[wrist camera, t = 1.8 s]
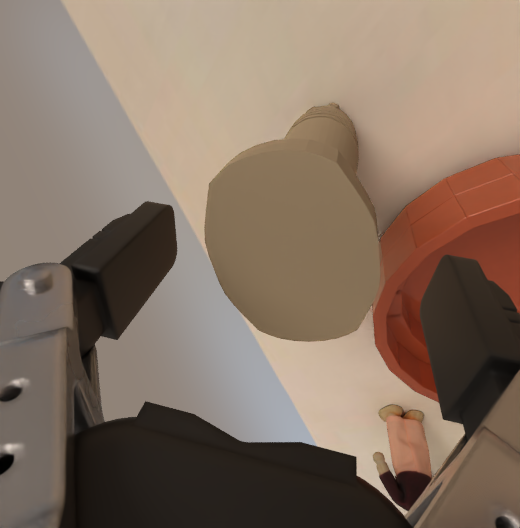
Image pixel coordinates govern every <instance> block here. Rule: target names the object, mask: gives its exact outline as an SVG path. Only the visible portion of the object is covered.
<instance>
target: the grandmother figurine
mask: <svg viewBox="0 0 520 528" xmlns="http://www.w3.org/2000/svg"><path fill="white" fill-rule="evenodd" d="M402 411H403V410H402V408H401V407H399V406H397V405H389V406H387V407H385V408H383V409H381V410H380V411H379V416H380V418H381V419H382V420H383V421H385V422H387V430H388V436H389V443H390V450H391V457H392V463H393V467H394V470H395V473H396V476H397V481H396V479H395V478H394V476H393V474H392V473H391V471H390V470H389V468H388V465H387V463H386V462H385V458H384V455H383V454H382V453H380V452H376V453H374V455H373V459H374V461H375V463H376V464H377V470H378V472H379V477H380V480H381V481H382V483H383V485H384V487H385V488H386V490H387V492H388V493H389V495H390V496H391V498H392V499H393V501H394V502H395V503H396V504H397V505H399V506H400V507H402V508H403V509H405V510H407V511H409V510H410V508H411V507H412V506H413V505H414V503H415V502H416V501H417V500H418V498H419V497H420V496H421V494H422V493H423V491H424V490H425V489H426V487H427V486H428V484H429V483H430V482H431V480H432V475H431V464H430V457H429V450H428V445H427V441H426V437H425V433H424V428H423V425H422V424H421V423H422V420H423V416H424V415H423V413H422V412H420V411H416V410H411V411H408V412H407V413H406V414H405V415H404V416H403V418H401V417H399V416H400V415H401V414H402Z"/></svg>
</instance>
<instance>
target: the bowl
mask: <svg viewBox="0 0 520 528" xmlns="http://www.w3.org/2000/svg"><path fill="white" fill-rule="evenodd" d="M444 255H453V256H458V257H464V258H470V259H475V260H477V261H478V263H479V264H480V266H481V268H482V270H483V272H484V274H485V276H486V278H487V280H490V281H494V282H495V283H496V284H497V285H498V286H499V287H500V288H502V289H503V290H504V291H505V292H506V293H507V294H508V295H509V296H510V298H511V300H512V301H513V303H514V305H515V307H516V308H517V312H518V313H519V314H520V154H519V155H512V156H505V157H498V158H494V159H492V160H489V161H487V162H484V163H482V164H479V165H477V166H474V167H472V168H469V169H467V170H464V171H462V172H459V173H457V174H454V175H452V176H449V177H447V178H445V179H443V180H442V181H440V182H439V183H437V184H436V185H435V186H433V187H432V188H430V189H429V190H428V191H426V192H425V193H424V194H422V195H421V196H419V197H418V198H417V199H415V200H414V201H412V202H411V203H410V204H408V205H407V206H406V207H405V208H404V209H403V210H402V211H401V213H400V214H399V215H398V217H397V218H396V219H395V220H394V222H393V223H392V224H391V225H390V227H389V228H388V229H387V231H386V232H385V233H384V234H383V236H382V237H381V239H380V241H379V259H380V285H379V289H378V292H377V294H376V297H375V300H374V301H373V303H372V308H373V323H374V336H375V345H376V347H377V349H378V351H379V352H380V354H381V356H382V358H383V359H384V361H385V363H386V365H387V367H388V368H389V370H390V371H391V372H392V373H394V374H395V375H396V376H397V377H398V378H400V379H401V380H402V381H403V382H404V383H406V384H407V385H408V386H409V387H410V388H411V389H413V390H414V391H415V392H417V393H419V394H422V395H424V396H426V397H428V398H430V399H432V400H435V401H437V402H439V399H438V395H437V390H436V386H435V381H434V377H433V373H432V368H431V364H430V359H429V355H428V351H427V346H426V342H425V337H424V333H423V329H422V324H421V320H420V304H421V300H422V297H423V295H424V293H425V291H426V289H427V287H428V284H429V282H430V280H431V278H432V276H433V274H434V272H435V270H436V268H437V266H438V264H439V262H440V260H441V258H442V257H443V256H444Z"/></svg>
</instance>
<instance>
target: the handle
mask: <svg viewBox="0 0 520 528" xmlns="http://www.w3.org/2000/svg"><path fill="white" fill-rule="evenodd" d="M357 166H358V142H357V136H356V132H355V129H354V126H353V123H352V121H351V120H350V119H349V117H348V116H347V115H346V114H345V113H344V112H343V111H341V110H340V109H339V106H338V105H337V104H334V103H330V104H329V105H327V106H321V107H317V108H316V107H312V108H311V109H309V110H308V111H307V112H306V113H305V114H303V115H302V116H301V117H300V118H299V119H298V120H297V121H296V122H295V123H294V124H293V126H292V127H291V129H290V130H289V132H288V133H287V135H286V137H285V139H282V140H273V141H270V142H266V143H263V144H259V145H256V146H253V147H251V148H249V149H247V150H245V151H243V152H241V153H240V154H238V155H237V156H236V157H235V158H233V159H232V160H231V161H230V162H229V163H228V164H227V165H226V166H225V167H224V168H223V169H222V170H221V171H220V172H219V173H218V174H217V176H216V177H215V178H214V179H213V180H212V181H211V182H210V184H209V190H208V198H207V207H206V217H205V243H206V247H207V250H208V254H209V257H210V260H211V262H212V265H213V268H214V270H215V273H216V275H217V277H218V280H219V283H220V285H221V287H222V289H223V291H224V293H225V294H226V295H227V297H228V298H229V299H230V301H231V302H232V303H233V304H234V306H235V307H236V308H237V309H238V310H239V311H240V312H241V313H242V314H243V315H244V316H245V317H246V318H247V319H248V320H249V321H250V322H251V323H252V324H253V325H254V326H255V327H256V328H257V329H258V330H259V331H261V332H264V333H266V334H268V335H271V336H274V337H277V338H281V339H287V340H293V341H308V342H309V341H325V340H330V339H336V338H339V337H342V336H345V335H348V334H350V333H352V332H354V331H356V330H357V329H358V328H359V326H360V324H361V323H362V321H363V319H364V318H365V316H366V314H367V313H368V311H369V309H370V307H371V305H372V303H373V301H374V300H375V297H376V294H377V292H378V289H379V285H380V259H379V243H378V231H377V220H376V213H375V208H374V205H373V204H372V202H371V200H370V198H369V196H368V195H367V193H366V191H365V189H364V187H363V186H362V184H361V182H360V181H359V179H358V177H357V176H356V172H357Z"/></svg>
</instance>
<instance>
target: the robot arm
mask: <svg viewBox="0 0 520 528" xmlns="http://www.w3.org/2000/svg"><path fill="white" fill-rule="evenodd" d="M176 255H177V241H176V229H175V218H174V211H173V208H172V206H170V205H165V204H159V203H154V202H148V201H147V202H145V203H143V204H142V205H141V206H140V207H138V208H137V209H136V210H135V211H134V212H133V213H131V214H127V215H125V216H122V217H120V218H117V219H115V220H113V221H112V222H110V223H109V224H108V225H107V226H105V227H104V228H103V229H102V231H99V232H98V233H97V234H95V235H94V236H93V239H89V240H88V241H87V242H86V243H84V244H83V245H82V246H81V247H79V248H78V249H77V250H76V251H74V252H73V253H72V254H71V255H70V256H69V257H67V258H66V259H65V260H63V261H62V262H61V263H60V264H58V263H40V264H35V265H31V266H28V267H25V268H23V269H21V270H18V271H17V272H15V273H13V274H12V275H11V276H9V277H8V278H7V279H6V280H5V281H4V282H0V528H520V314H519V313H518V312H517V308H516V307H515V305H514V303H513V301H512V300H511V298H510V296H509V295H508V294H507V293H506V292H505V291H504V290H503V289H502V288H500V287H499V286H498V285H497V284H496V283H495V282H494V281H490V280H487V278H486V276H485V274H484V272H483V270H482V268H481V266H480V264H479V263H478V261H477V260H475V259H470V258H464V257H458V256H453V255H444V256H443V257H442V258H441V260H440V262H439V264H438V266H437V268H436V270H435V272H434V274H433V276H432V278H431V280H430V282H429V284H428V287H427V289H426V291H425V293H424V295H423V297H422V300H421V304H420V320H421V324H422V329H423V333H424V337H425V342H426V346H427V351H428V355H429V359H430V364H431V368H432V373H433V377H434V381H435V386H436V390H437V395H438V399H439V403H440V408H441V412H442V417H443V419H444V420H448V421H452V422H456V423H460V424H463V426H464V430H465V434H464V436H463V437H462V438H461V439H460V440H459V442H458V443H457V445H456V446H455V447H454V449H453V450H452V452H451V453H450V455H449V456H448V457H447V459H446V460H445V462H444V463H443V464H442V466H441V467H440V469H439V470H438V472H437V473H436V474H435V476H434V477H433V479H432V480H431V482H430V483H429V484H428V486H427V487H426V489H425V490H424V491H423V493H422V494H421V496H420V497H419V498H418V500H417V501H416V502H415V503H414V505H413V506H412V507H411V508H410V510H409V511H408V512H407V514H406V515H405V516H404V515H403V514H402V513H401V512H400V511H399V510H398V509H397V508H396V507H395V505H394V504H393V503H392V502H391V501H390V500H389V499H388V498H386V497H385V496H384V495H383V494H382V493H381V492H380V491H379V490H377V489H376V488H375V487H373V486H372V485H371V484H369V483H368V482H366V481H365V480H363V479H362V478H360V477H358V476H356V457H355V456H351V455H347V454H343V453H340V452H336V451H332V450H328V449H324V448H321V447H317V446H313V445H309V444H305V443H302V442H284V443H283V442H274V443H273V442H272V443H271V442H267V443H266V442H265V443H262V442H261V443H260V442H259V443H258V442H255V443H252V442H251V443H248V442H242V441H239V440H237V439H235V438H234V437H232V436H230V435H229V434H227V433H225V432H224V431H222V430H220V429H218V428H217V427H215V426H213V425H212V424H210V423H208V422H207V421H205V420H203V419H201V418H200V417H198V416H196V415H195V414H191V413H188V412H184V411H180V410H176V409H173V408H169V407H165V406H161V405H157V404H153V403H150V402H145V403H144V405H143V407H142V409H141V410H140V412H139V414H138V416H137V417H128V418H121V419H115V420H112V421H107V422H105V421H104V417H103V413H102V406H101V396H100V384H99V373H98V360H97V350H96V346H95V343H96V341H97V340H98V339H99V338H100V336H104V337H107V338H111V339H116V340H118V338H119V337H120V336H121V334H122V333H123V332H124V330H125V329H126V328H127V326H128V325H129V324H130V322H131V321H132V319H133V318H134V317H135V316H136V314H137V313H138V312H139V310H140V309H141V308H142V306H143V305H144V304H145V302H146V301H147V300H148V298H149V297H150V296H151V294H152V293H153V292H154V290H155V289H156V288H157V286H158V285H159V284H160V282H161V281H162V280H163V278H164V277H165V276H166V274H167V273H168V272H169V270H170V269H171V268H172V266H173V264H174V262H175V259H176Z"/></svg>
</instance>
